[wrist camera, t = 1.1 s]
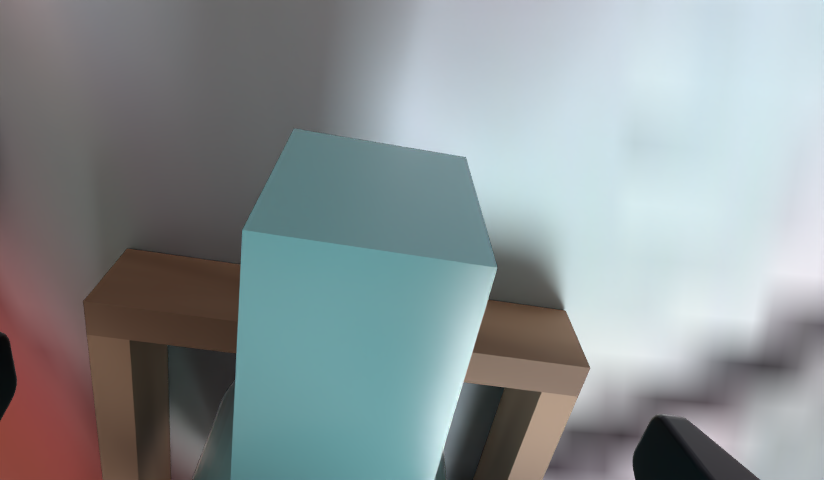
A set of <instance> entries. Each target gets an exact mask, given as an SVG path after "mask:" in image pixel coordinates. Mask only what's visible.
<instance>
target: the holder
mask: <svg viewBox="0 0 824 480" xmlns="http://www.w3.org/2000/svg"><path fill="white" fill-rule="evenodd" d="M240 268H241V264H234V263H227V262H220V261H212V260H205V259H198V258H191V257H184V256H177V255H170V254H163V253H156V252H149V251H142V250H135V249H128V248H127V249H126V250H125V252H124V253H123V254H122V255H121V256H120V258H119V259H118V260H117V261H116V262H115V264H114V265H113V266H112V267H111V268H110V270H109V271H108V272H107V273H106V274H105V276H104V277H103V278H102V279H101V280H100V282H99V283H98V284H97V285H96V286H95V288H94V289H93V290H92V291H91V292H90V294H89V295H88V296H87V297H86V298H85V300H84V301H83V305H84V314H85V323H86V332H87V341H88V350H89V359H90V368H91V377H92V386H93V395H94V405H95V414H96V423H97V432H98V441H99V450H100V459H101V468H102V477H103V480H171V464H170V426H169V388H168V350H167V345H172V346H180V347H188V348H196V349H204V350H212V351H220V352H228V353H237V332H238V311H239V289H240ZM589 370H590V366H589V364H588V362H587V359H586V357H585V355H584V352H583V350H582V348H581V345H580V343H579V341H578V338H577V336H576V334H575V331H574V329H573V327H572V324H571V322H570V320H569V317H568V315H567V313H566V311H564V310H557V309H550V308H543V307H536V306H529V305H522V304H515V303H508V302H501V301H494V300H488V302H487V305H486V308H485V312H484V315H483V318H482V322H481V325H480V328H479V332H478V335H477V338H476V342H475V345H474V349H473V352H472V355H471V359H470V362H469V365H468V369H467V372H466V375H465V379H464V382H466V383H474V384H481V385H489V386H497V387H505V389H504V391H503V394H502V397H501V400H500V403H499V406H498V409H497V412H496V415H495V417H494V420H493V423H492V426H491V429H490V432H489V435H488V438H487V441H486V444H485V446H484V449H483V452H482V455H481V458H480V461H479V464H478V467H477V470H476V472H475V475H474V478H473V480H542V479H543V477H544V474H545V472H546V470H547V467H548V465H549V463H550V460H551V458H552V456H553V453H554V451H555V449H556V446H557V444H558V442H559V439H560V437H561V435H562V433H563V430H564V428H565V426H566V423H567V421H568V419H569V416H570V414H571V412H572V409H573V407H574V405H575V402H576V400H577V398H578V395H579V393H580V391H581V388H582V386H583V384H584V381H585V379H586V377H587V374H588V372H589Z"/></svg>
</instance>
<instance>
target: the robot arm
mask: <svg viewBox="0 0 824 480" xmlns="http://www.w3.org/2000/svg"><path fill="white" fill-rule="evenodd" d="M16 386H17V377H16V371H15V366H14V361H13V356H12V351H11V345H10V341H9V338H8V337H7V336H6V334H4V333H2V332H0V420H1V419H2V417H3V415H4V413H5V411H6V409H7V408H8V406H9V404H10V402H11V400H12V398H13V396H14V393H15V390H16ZM633 471H634V476H635V480H760V479H759V478H757V477H756V476H755V475H754V474H753V473H751V472H750V471H749V470H748V469H746V468H745V467H744V466H743V465H742V464H740V463H739V462H738V461H737V460H736V459H734V458H733V457H732V456H731V455H730V454H728V453H727V452H726V451H725V450H724V449H722V448H721V447H720V446H719V445H718V444H716V443H715V442H714V441H713V440H712V439H710V438H709V437H708V436H707V435H705V434H704V433H703V432H702V431H701V430H699V429H698V428H697V427H696V426H695V425H693V424H692V423H691V422H690V421H689V420H687V419H686V418H684V417H680V416H673V415H665V414H658V415H655V416H654V417H653V418H652V419H651V420H650V422H649V424H648V426H647V428H646V430H645V432H644V434H643V435H642V437H641V439H640V441H639V443H638V445H637V447H636V449H635V451H634V455H633Z"/></svg>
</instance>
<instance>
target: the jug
mask: <svg viewBox="0 0 824 480" xmlns="http://www.w3.org/2000/svg"><path fill="white" fill-rule="evenodd" d="M496 271H497V264H496V261H495V257H494V254H493V250H492V247H491V243H490V240H489V236H488V233H487V229H486V226H485V222H484V219H483V215H482V212H481V208H480V205H479V201H478V198H477V194H476V191H475V187H474V184H473V180H472V177H471V173H470V170H469V166H468V163H467V159H466V157H461V156H455V155H449V154H443V153H437V152H431V151H425V150H420V149H414V148H408V147H402V146H396V145H390V144H384V143H378V142H372V141H366V140H360V139H354V138H348V137H342V136H336V135H330V134H324V133H318V132H312V131H306V130H300V129H293V131H292V133H291V135H290V137H289V139H288V141H287V143H286V145H285V147H284V149H283V151H282V153H281V155H280V157H279V159H278V161H277V163H276V165H275V167H274V169H273V171H272V173H271V175H270V177H269V179H268V181H267V182H266V184H265V186H264V188H263V190H262V192H261V194H260V196H259V198H258V200H257V202H256V204H255V206H254V208H253V210H252V212H251V214H250V216H249V218H248V220H247V222H246V224H245V226H244V228H243V230H242V247H241V268H240V289H239V311H238V332H237V353H236V374H235V380H234V382H233V383H232V384H231V385H230V387H229V388H228V389H227V391H226V393H225V394H224V396H223V398H222V400H221V402H220V405H219V408H218V411H217V413H216V416H215V419H214V421H213V424H212V427H211V429H210V432H209V435H208V437H207V440H206V443H205V445H204V448H203V451H202V454H201V456H200V459H199V462H198V464H197V467H196V470H195V472H194V475H193V478H192V480H446V470H445V458H444V446H445V442H446V439H447V436H448V432H449V429H450V426H451V422H452V419H453V416H454V412H455V409H456V406H457V402H458V399H459V395H460V392H461V389H462V385H463V382H464V379H465V375H466V372H467V369H468V365H469V362H470V359H471V355H472V352H473V349H474V345H475V342H476V338H477V335H478V332H479V328H480V325H481V322H482V318H483V315H484V312H485V308H486V305H487V302H488V298H489V295H490V291H491V288H492V285H493V281H494V278H495V275H496Z"/></svg>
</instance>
